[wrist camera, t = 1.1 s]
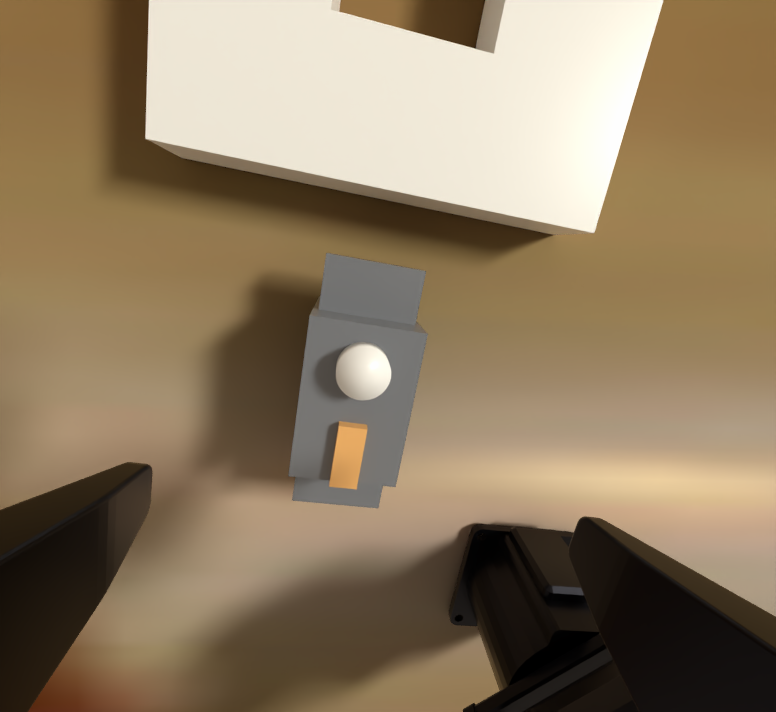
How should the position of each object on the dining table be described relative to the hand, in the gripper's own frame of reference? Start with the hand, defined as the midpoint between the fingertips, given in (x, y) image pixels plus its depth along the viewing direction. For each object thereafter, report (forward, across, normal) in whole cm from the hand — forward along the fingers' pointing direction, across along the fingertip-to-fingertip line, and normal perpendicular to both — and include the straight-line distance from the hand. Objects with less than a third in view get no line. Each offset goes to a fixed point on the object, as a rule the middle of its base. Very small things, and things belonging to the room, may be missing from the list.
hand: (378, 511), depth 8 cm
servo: (+11, 0, 0) cm, 11 cm away
